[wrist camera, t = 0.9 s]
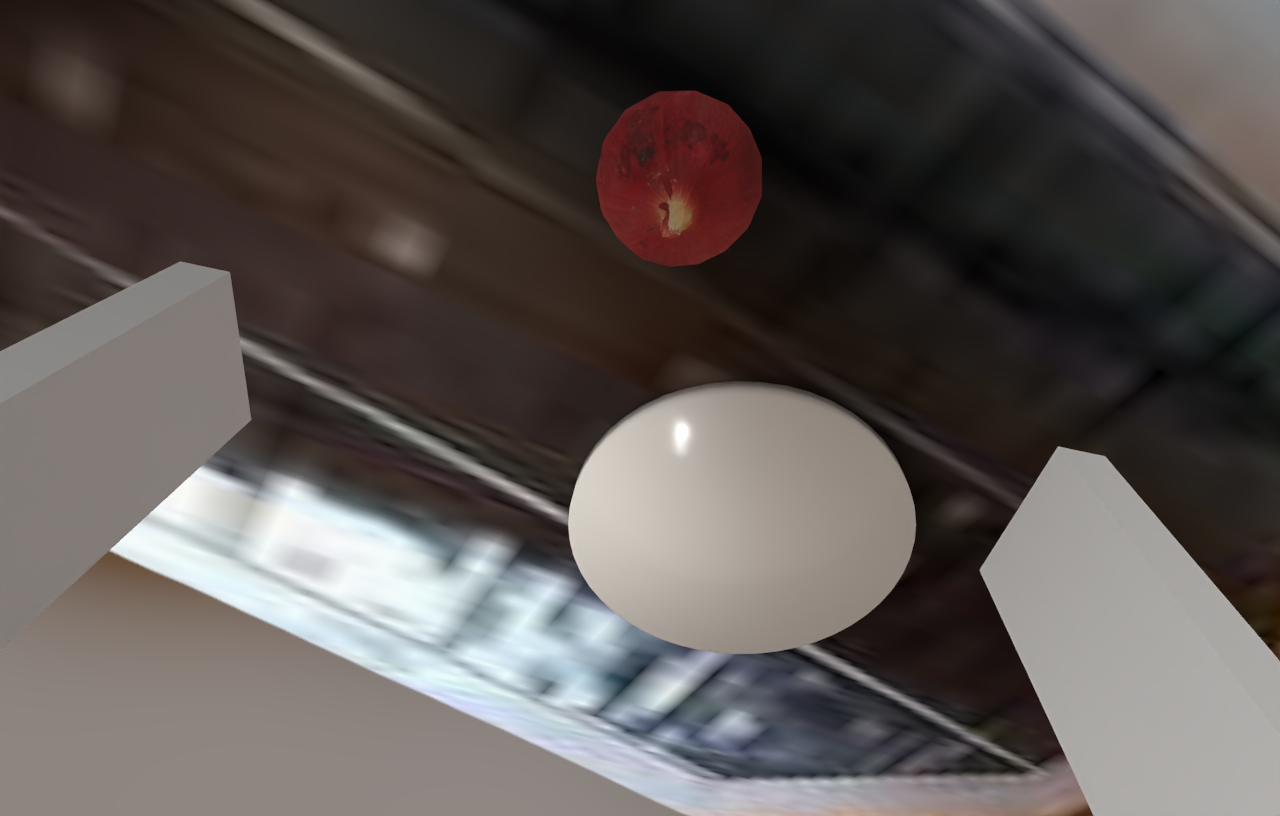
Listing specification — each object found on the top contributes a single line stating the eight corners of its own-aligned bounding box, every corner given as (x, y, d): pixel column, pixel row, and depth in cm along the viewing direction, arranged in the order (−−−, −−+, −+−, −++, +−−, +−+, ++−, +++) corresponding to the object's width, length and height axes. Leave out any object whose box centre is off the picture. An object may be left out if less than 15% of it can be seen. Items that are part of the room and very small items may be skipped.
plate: (598, 346, 32) (594, 358, 31) (970, 423, 32) (978, 437, 31) (554, 605, 41) (550, 620, 40) (841, 661, 42) (844, 678, 41)
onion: (583, 124, 27) (541, 170, 20) (717, 48, 25) (721, 69, 18) (651, 253, 29) (634, 333, 22) (778, 192, 27) (801, 258, 21)
